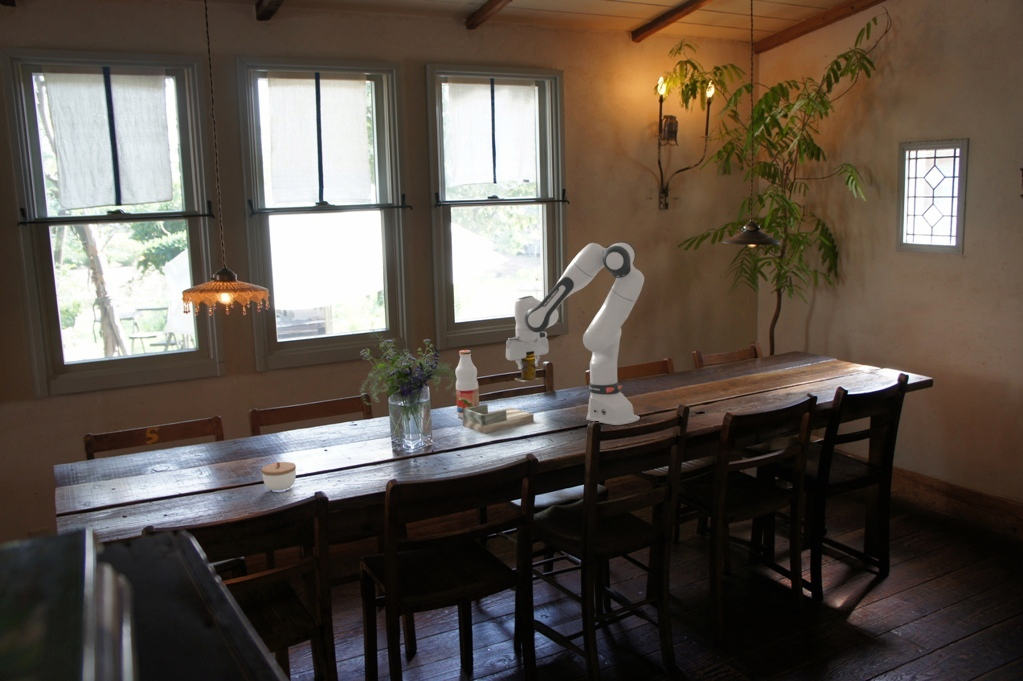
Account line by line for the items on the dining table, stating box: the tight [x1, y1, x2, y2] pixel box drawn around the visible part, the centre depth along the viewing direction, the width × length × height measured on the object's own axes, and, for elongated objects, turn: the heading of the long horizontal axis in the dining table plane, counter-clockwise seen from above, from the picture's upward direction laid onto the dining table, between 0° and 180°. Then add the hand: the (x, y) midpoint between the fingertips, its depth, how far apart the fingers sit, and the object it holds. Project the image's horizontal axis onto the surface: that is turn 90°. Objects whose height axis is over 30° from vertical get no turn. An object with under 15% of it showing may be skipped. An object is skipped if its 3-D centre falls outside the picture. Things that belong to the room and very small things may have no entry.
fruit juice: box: [454, 349, 480, 419], centre depth 358 cm, size 9×9×28 cm
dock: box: [461, 403, 535, 434], centre depth 345 cm, size 16×24×7 cm, turn 126°
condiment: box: [514, 351, 540, 383], centre depth 356 cm, size 7×8×12 cm
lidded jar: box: [261, 461, 297, 491], centre depth 278 cm, size 11×11×9 cm
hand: (528, 367), depth 357 cm, fingers closed on condiment, 6 cm apart
